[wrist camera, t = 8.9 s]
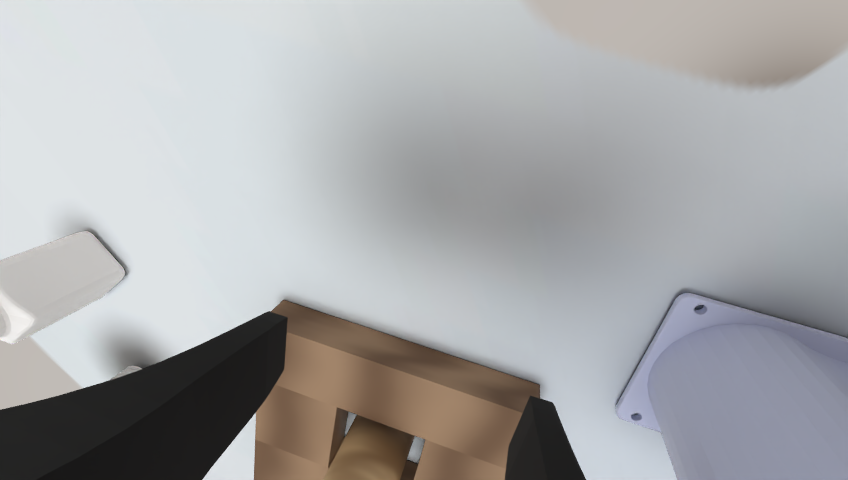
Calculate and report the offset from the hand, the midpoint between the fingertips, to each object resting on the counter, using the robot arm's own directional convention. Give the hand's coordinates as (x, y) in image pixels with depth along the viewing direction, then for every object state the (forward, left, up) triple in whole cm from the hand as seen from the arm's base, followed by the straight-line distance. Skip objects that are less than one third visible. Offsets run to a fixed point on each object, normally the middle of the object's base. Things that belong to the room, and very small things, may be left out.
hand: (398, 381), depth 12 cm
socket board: (+2, +14, -10) cm, 18 cm away
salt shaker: (+24, +9, -11) cm, 27 cm away
